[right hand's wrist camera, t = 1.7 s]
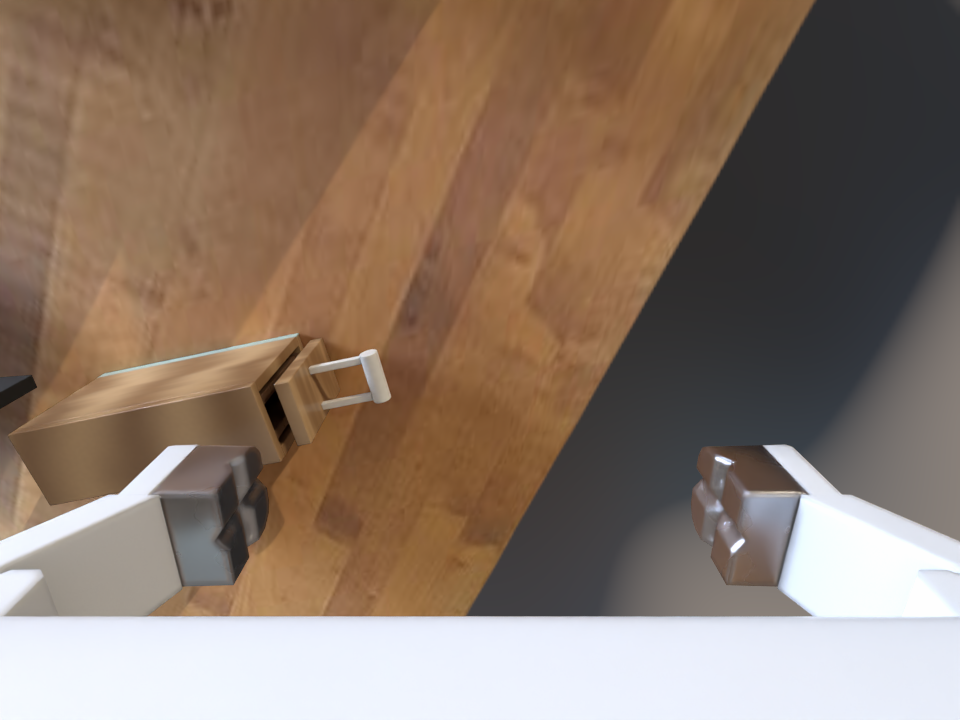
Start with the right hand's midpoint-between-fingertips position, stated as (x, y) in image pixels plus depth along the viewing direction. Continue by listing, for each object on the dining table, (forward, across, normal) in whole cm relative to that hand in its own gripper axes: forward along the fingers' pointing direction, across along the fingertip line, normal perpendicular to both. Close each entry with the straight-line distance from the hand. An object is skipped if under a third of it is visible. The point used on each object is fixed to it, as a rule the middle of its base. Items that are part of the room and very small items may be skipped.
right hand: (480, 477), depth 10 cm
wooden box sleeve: (+40, +26, +16) cm, 50 cm away
